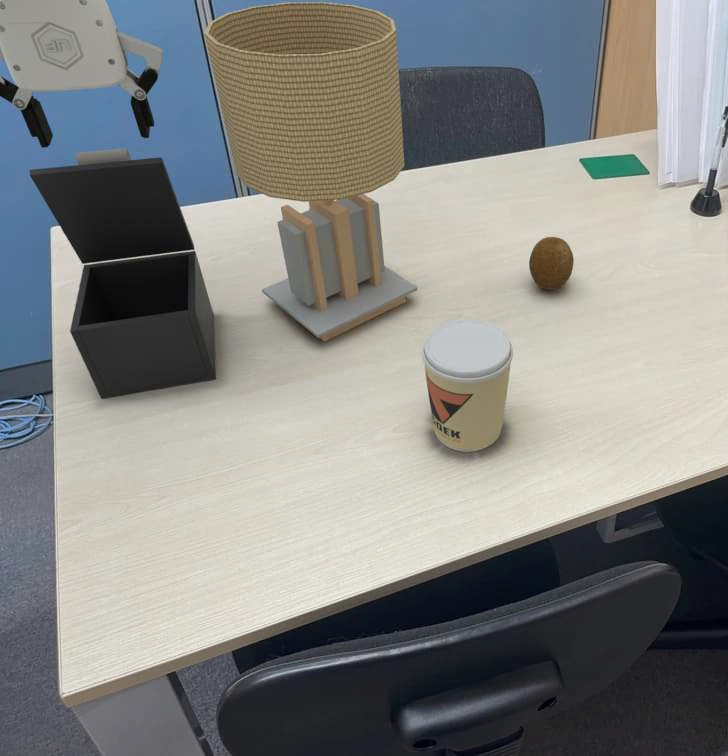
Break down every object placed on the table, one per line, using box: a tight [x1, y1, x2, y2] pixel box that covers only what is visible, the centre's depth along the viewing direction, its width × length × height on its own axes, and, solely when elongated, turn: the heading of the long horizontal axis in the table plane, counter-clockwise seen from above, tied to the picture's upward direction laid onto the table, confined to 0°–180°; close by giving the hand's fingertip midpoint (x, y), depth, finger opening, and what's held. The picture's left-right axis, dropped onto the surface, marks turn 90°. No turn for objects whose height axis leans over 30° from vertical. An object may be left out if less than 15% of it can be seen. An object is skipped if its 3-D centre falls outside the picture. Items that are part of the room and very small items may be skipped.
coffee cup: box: [421, 318, 514, 453], centre depth 76 cm, size 9×9×12 cm
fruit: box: [528, 236, 575, 290], centre depth 100 cm, size 6×6×8 cm
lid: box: [29, 147, 195, 265], centre depth 81 cm, size 14×13×5 cm
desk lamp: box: [203, 1, 418, 342], centre depth 86 cm, size 20×20×35 cm
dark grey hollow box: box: [69, 250, 217, 400], centre depth 85 cm, size 14×13×10 cm
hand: (97, 137), depth 76 cm, fingers open, 9 cm apart
